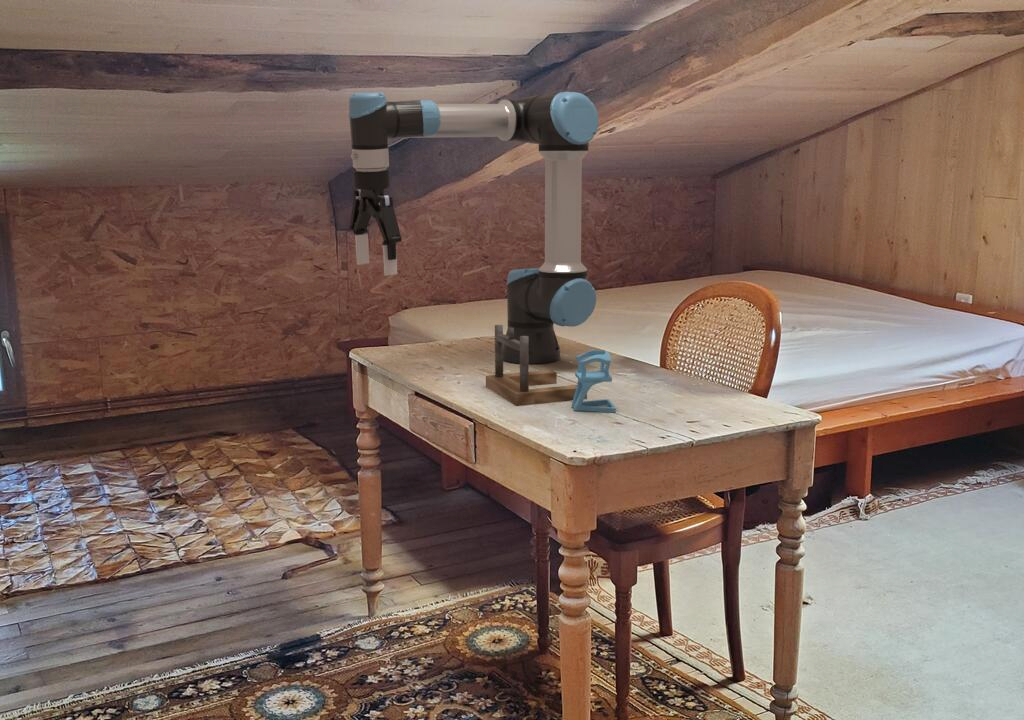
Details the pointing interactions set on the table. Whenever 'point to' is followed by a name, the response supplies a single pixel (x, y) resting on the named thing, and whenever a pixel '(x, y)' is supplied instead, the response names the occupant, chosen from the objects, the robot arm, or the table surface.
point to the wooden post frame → (524, 376)
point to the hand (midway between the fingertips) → (376, 269)
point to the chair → (592, 382)
